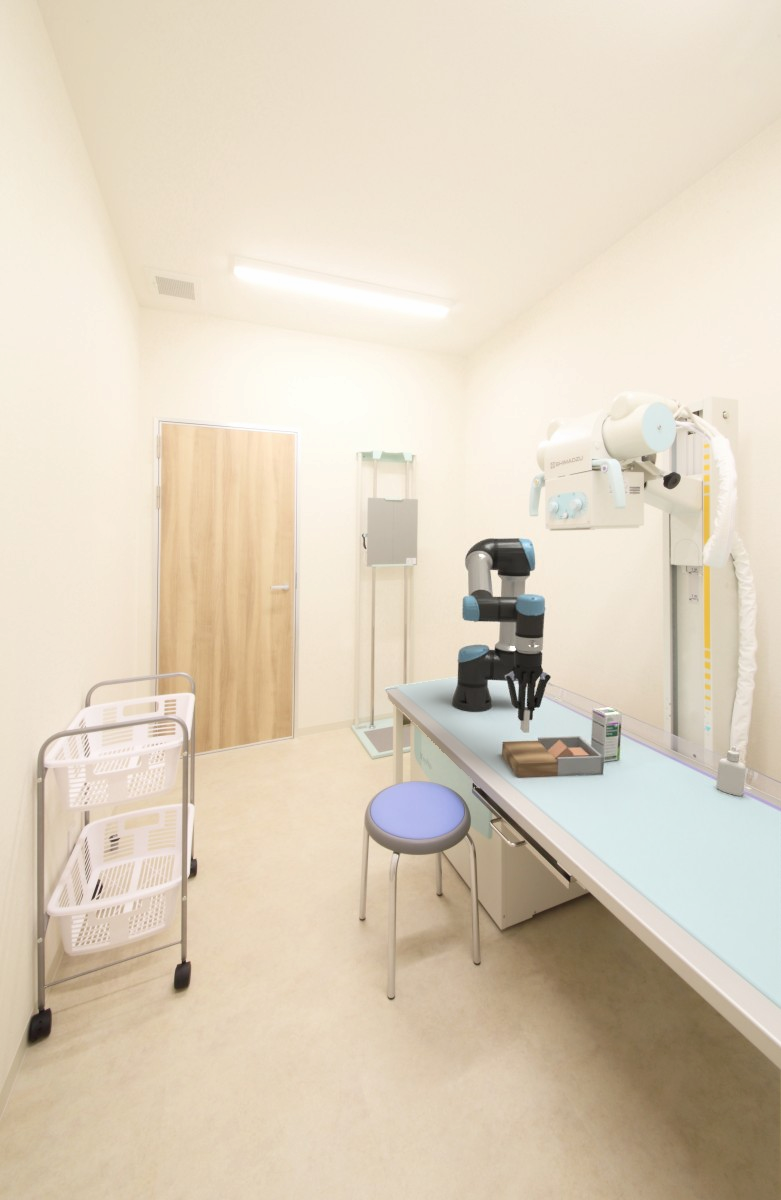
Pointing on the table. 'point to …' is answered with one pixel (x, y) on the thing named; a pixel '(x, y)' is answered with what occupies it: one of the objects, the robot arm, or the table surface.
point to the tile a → (560, 750)
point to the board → (529, 759)
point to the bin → (576, 764)
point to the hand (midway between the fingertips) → (524, 730)
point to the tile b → (578, 752)
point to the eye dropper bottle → (731, 774)
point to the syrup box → (606, 732)
